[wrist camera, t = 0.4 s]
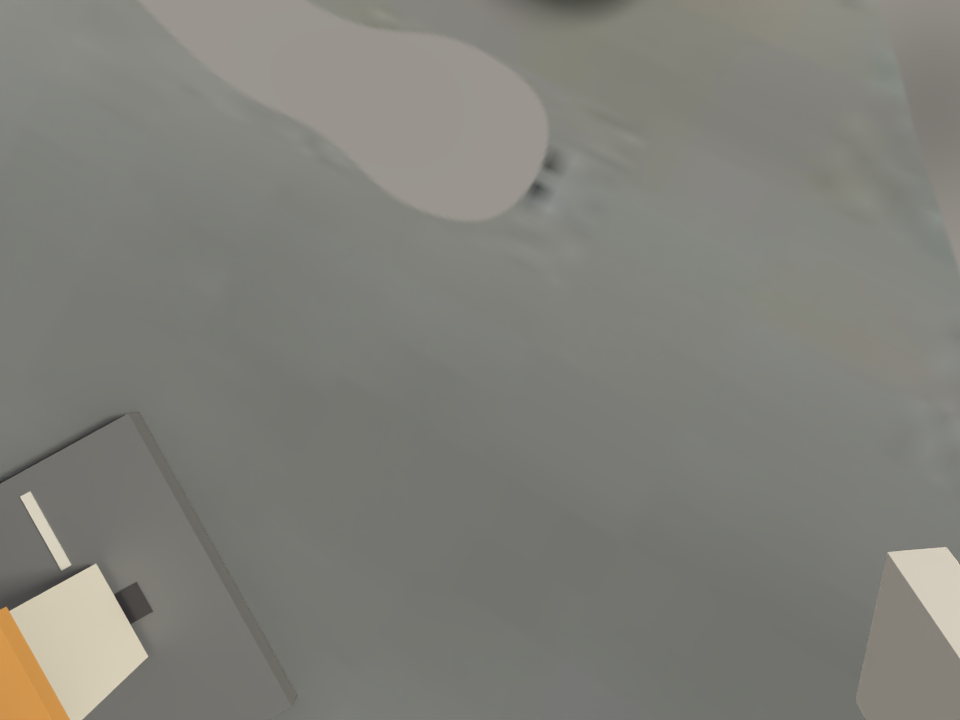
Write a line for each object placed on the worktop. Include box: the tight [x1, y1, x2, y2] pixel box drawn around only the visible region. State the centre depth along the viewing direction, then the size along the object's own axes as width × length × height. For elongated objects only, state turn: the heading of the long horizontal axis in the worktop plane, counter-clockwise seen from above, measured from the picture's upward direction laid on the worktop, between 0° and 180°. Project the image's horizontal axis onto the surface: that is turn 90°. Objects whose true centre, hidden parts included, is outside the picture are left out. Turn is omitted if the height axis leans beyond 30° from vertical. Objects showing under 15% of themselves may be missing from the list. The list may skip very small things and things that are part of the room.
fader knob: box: [0, 564, 148, 720], centre depth 37 cm, size 5×3×10 cm, turn 29°
